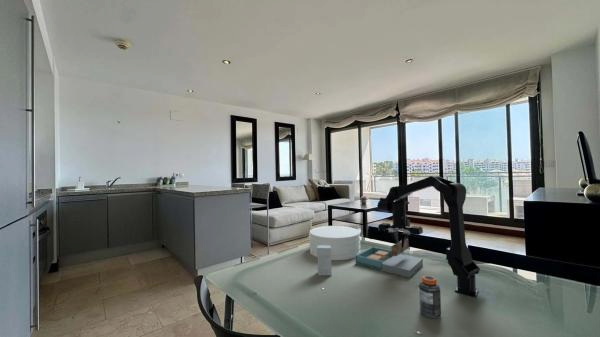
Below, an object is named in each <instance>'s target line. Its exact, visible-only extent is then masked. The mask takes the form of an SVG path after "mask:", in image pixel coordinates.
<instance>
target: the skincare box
mask: <svg viewBox="0 0 600 337" xmlns="http://www.w3.org/2000/svg"><path fill="white" fill-rule="evenodd" d="M317 256H318V257H317V276H332V274H333V273H332V272H333V271H332V260H331V246H330V245H318V246H317Z"/></svg>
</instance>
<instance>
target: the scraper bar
mask: <svg viewBox="0 0 600 337" xmlns="http://www.w3.org/2000/svg"><path fill="white" fill-rule="evenodd" d="M390 248H391V249H390V250H391V251H392V256H397V255H399V254H402V253H403V252H404V251H406V250H408V249H409V248H410V246H409V238H407V239H406V242H405V246H404V248H402V239H401V240H400V241H399V242H398V243H396V244H393V245H391V247H390Z"/></svg>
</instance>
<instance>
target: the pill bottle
mask: <svg viewBox="0 0 600 337" xmlns="http://www.w3.org/2000/svg"><path fill="white" fill-rule="evenodd" d="M421 279H422V280H421V282H419V285H418V288H419V289H418V293H419V295H418V296H419V312H420V313H421V314H422V315H423V316H424V317H427V318H429V319H439V318H440V317H442V302H441V287H440V285H438V284H437V278H436V277H435V276H432V275H422V277H421Z"/></svg>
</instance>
